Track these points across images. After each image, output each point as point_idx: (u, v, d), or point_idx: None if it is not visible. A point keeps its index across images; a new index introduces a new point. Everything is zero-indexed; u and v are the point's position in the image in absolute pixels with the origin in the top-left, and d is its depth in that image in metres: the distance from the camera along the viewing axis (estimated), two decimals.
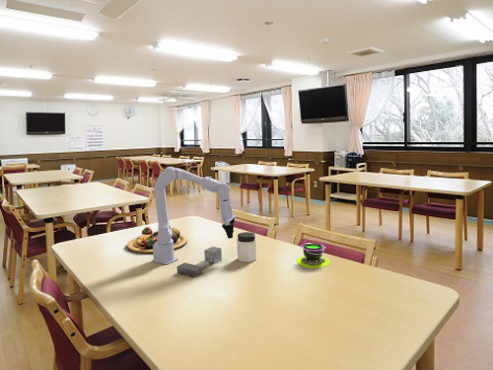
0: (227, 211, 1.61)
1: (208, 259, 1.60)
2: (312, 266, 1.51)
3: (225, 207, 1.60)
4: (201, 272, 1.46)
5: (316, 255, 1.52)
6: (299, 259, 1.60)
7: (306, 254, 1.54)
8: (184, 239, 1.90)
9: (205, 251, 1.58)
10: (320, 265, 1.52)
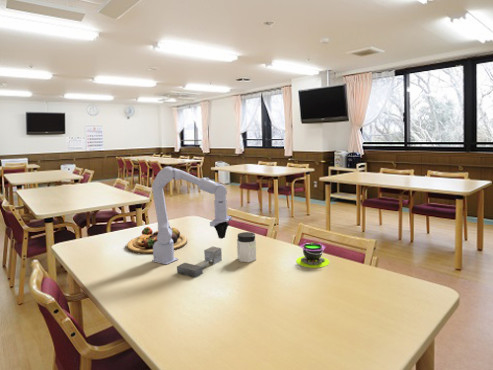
0: (218, 213, 1.61)
1: (208, 259, 1.60)
2: (312, 266, 1.51)
3: (220, 209, 1.60)
4: (201, 272, 1.46)
5: (316, 255, 1.53)
6: (299, 259, 1.60)
7: (306, 254, 1.54)
8: (184, 239, 1.90)
9: (205, 251, 1.58)
10: (320, 265, 1.52)
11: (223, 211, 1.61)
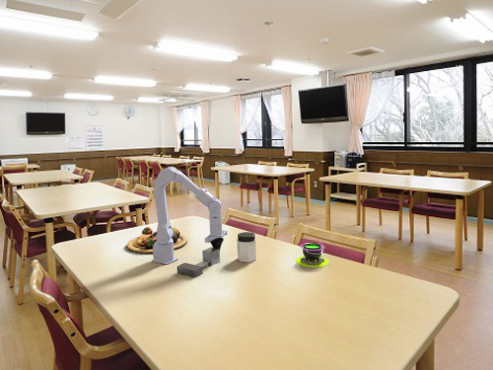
0: (213, 228, 1.58)
1: (206, 259, 1.59)
2: (311, 266, 1.52)
3: (214, 224, 1.58)
4: (201, 272, 1.46)
5: (315, 255, 1.53)
6: (298, 259, 1.60)
7: (305, 254, 1.55)
8: (184, 239, 1.90)
9: (203, 252, 1.57)
10: (319, 265, 1.53)
11: (218, 227, 1.58)
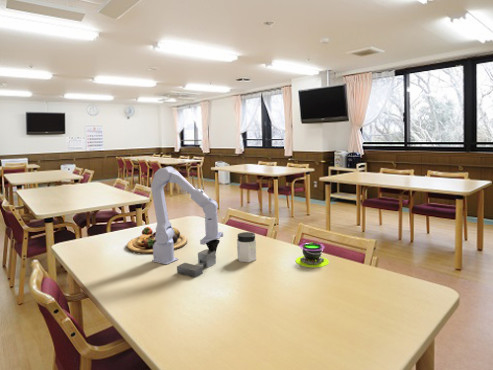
0: (209, 230, 1.56)
1: None
2: (311, 266, 1.52)
3: (209, 226, 1.55)
4: (201, 272, 1.46)
5: (315, 255, 1.53)
6: (298, 259, 1.60)
7: (305, 254, 1.55)
8: (184, 239, 1.90)
9: (199, 254, 1.54)
10: (319, 265, 1.53)
11: (214, 228, 1.56)
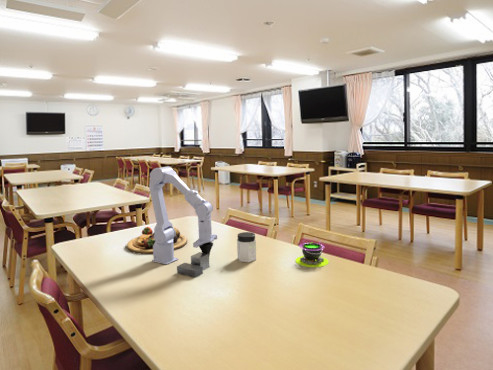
0: (202, 233, 1.52)
1: None
2: (311, 265, 1.52)
3: (201, 228, 1.51)
4: (201, 272, 1.46)
5: (315, 255, 1.53)
6: (298, 259, 1.61)
7: (305, 254, 1.55)
8: (184, 239, 1.90)
9: (192, 257, 1.51)
10: (319, 264, 1.53)
11: (207, 231, 1.52)
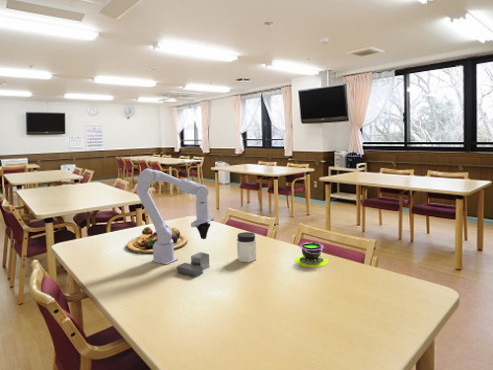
0: (199, 213, 1.60)
1: None
2: (311, 265, 1.52)
3: (201, 209, 1.60)
4: (201, 272, 1.46)
5: (315, 254, 1.53)
6: (298, 258, 1.61)
7: (305, 253, 1.55)
8: (184, 239, 1.90)
9: (192, 257, 1.51)
10: (319, 264, 1.53)
11: (204, 212, 1.60)
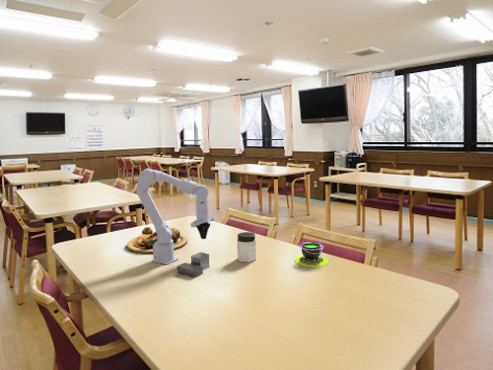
0: (199, 213, 1.60)
1: None
2: (310, 265, 1.52)
3: (201, 209, 1.60)
4: (201, 272, 1.46)
5: (314, 254, 1.54)
6: (297, 258, 1.61)
7: (304, 253, 1.55)
8: (184, 239, 1.90)
9: (192, 257, 1.51)
10: (318, 264, 1.53)
11: (204, 212, 1.60)
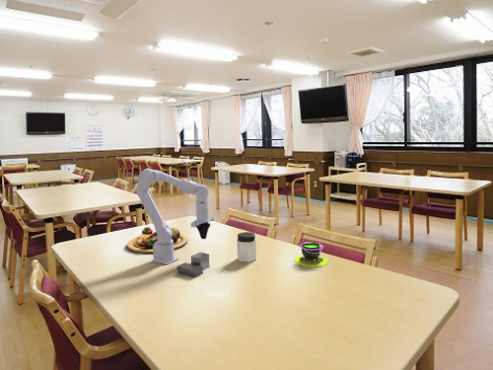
0: (199, 213, 1.60)
1: None
2: (310, 265, 1.52)
3: (201, 209, 1.60)
4: (201, 272, 1.46)
5: (314, 254, 1.54)
6: (297, 258, 1.61)
7: (304, 253, 1.55)
8: (184, 239, 1.90)
9: (192, 257, 1.51)
10: (318, 264, 1.53)
11: (204, 212, 1.60)
